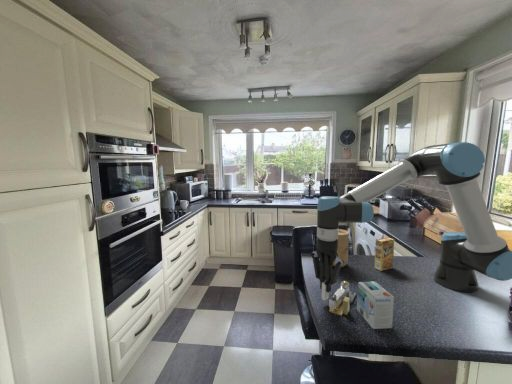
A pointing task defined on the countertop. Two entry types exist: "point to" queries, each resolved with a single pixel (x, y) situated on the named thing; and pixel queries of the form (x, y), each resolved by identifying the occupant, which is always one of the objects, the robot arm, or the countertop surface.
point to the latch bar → (339, 295)
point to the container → (342, 246)
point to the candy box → (384, 253)
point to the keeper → (342, 307)
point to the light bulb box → (375, 305)
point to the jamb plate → (351, 296)
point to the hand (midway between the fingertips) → (325, 298)
